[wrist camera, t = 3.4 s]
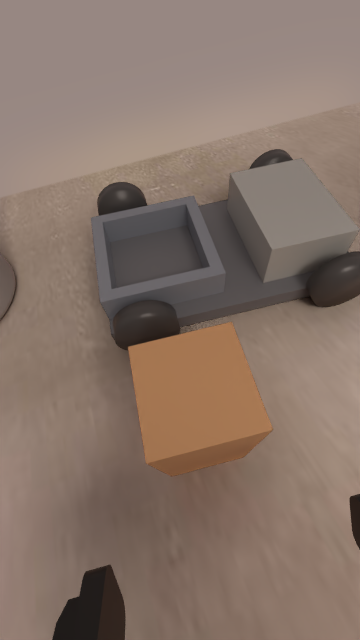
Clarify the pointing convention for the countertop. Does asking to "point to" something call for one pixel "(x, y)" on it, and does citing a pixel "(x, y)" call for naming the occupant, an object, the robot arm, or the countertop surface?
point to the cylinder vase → (6, 285)
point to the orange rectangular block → (196, 400)
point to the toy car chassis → (221, 250)
